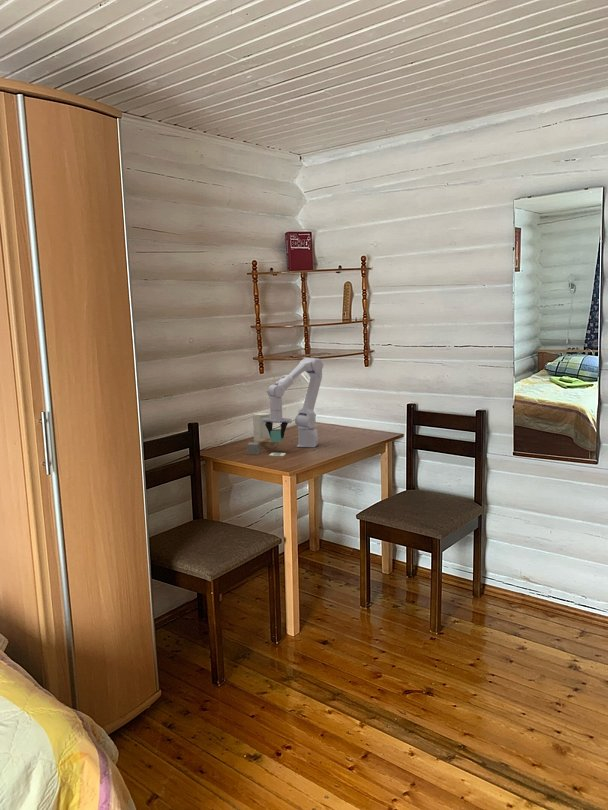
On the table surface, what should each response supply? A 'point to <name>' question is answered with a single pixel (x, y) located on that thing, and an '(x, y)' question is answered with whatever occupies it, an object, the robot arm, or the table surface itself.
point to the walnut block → (267, 443)
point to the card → (277, 454)
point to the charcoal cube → (253, 448)
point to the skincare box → (260, 426)
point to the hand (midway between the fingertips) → (276, 437)
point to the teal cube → (276, 435)
